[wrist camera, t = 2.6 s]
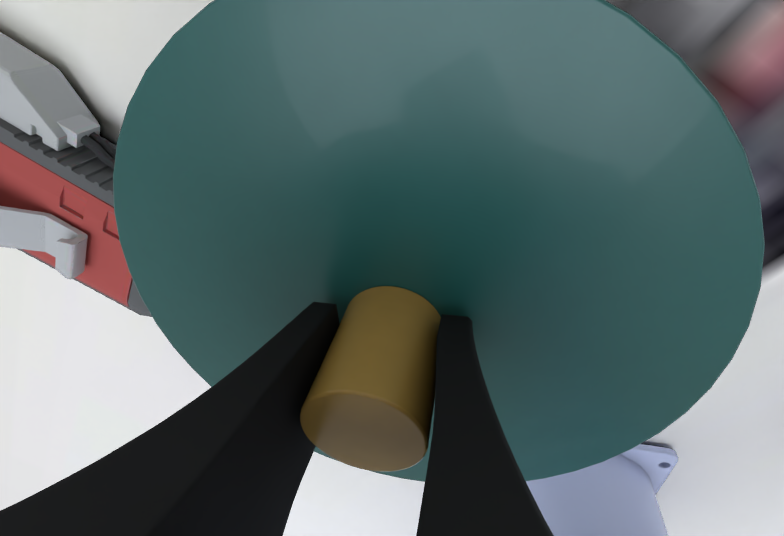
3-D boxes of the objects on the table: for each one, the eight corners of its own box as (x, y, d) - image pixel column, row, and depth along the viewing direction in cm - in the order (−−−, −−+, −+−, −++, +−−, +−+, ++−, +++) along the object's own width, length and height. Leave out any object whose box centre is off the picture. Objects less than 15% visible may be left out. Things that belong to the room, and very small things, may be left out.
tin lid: (623, 486, 14) (665, 648, 11) (232, 422, 17) (166, 531, 14) (941, -95, 5) (1734, -238, 2) (28, -20, 8) (-296, -24, 5)
